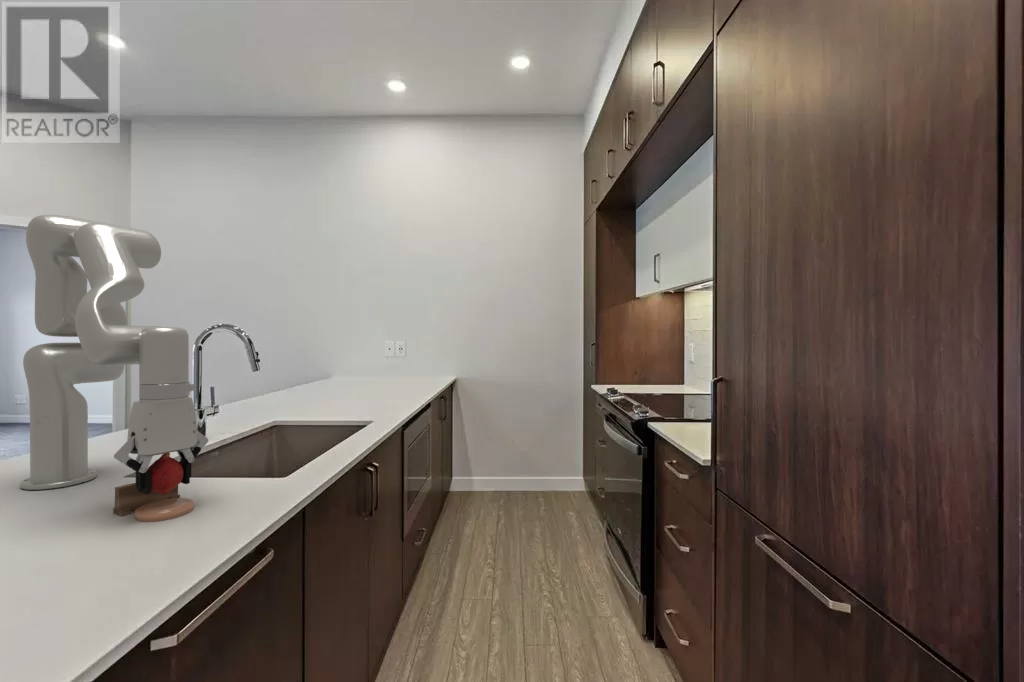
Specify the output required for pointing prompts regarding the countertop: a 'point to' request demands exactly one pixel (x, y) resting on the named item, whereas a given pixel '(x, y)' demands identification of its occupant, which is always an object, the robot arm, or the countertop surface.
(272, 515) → the countertop surface
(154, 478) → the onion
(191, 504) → the plate
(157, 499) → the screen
